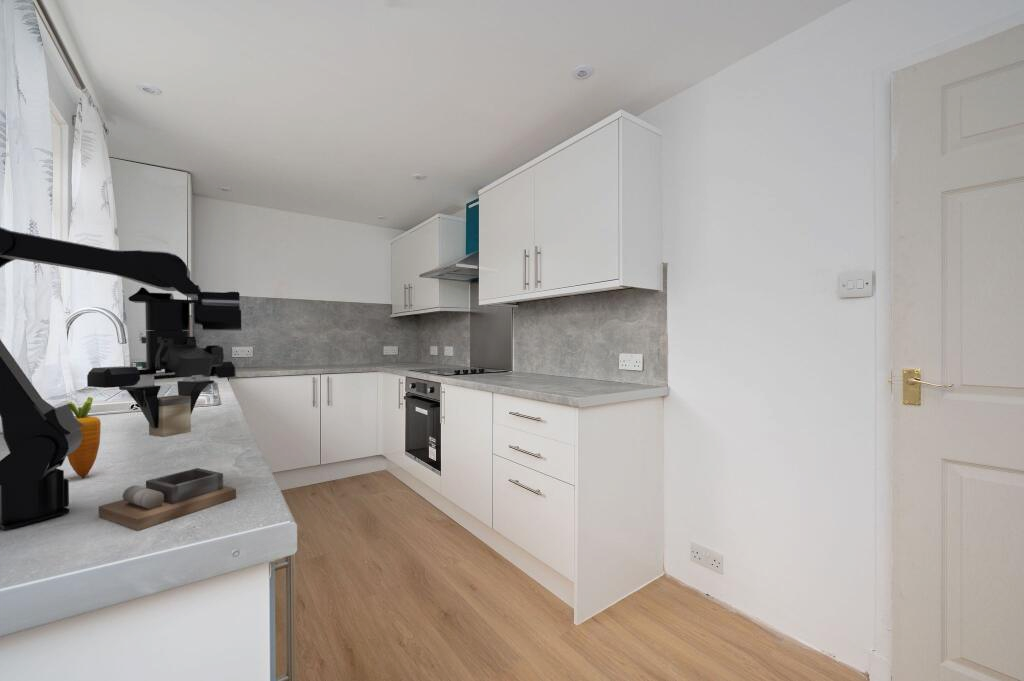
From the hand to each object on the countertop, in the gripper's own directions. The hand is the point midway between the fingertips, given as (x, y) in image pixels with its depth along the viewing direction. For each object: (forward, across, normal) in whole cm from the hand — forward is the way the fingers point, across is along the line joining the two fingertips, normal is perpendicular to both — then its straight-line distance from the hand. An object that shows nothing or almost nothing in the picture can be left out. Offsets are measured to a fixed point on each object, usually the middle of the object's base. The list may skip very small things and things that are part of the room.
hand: (170, 425), depth 71 cm
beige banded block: (+1, 0, 0) cm, 1 cm away
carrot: (+12, -1, +27) cm, 29 cm away
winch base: (+12, -3, -5) cm, 13 cm away
